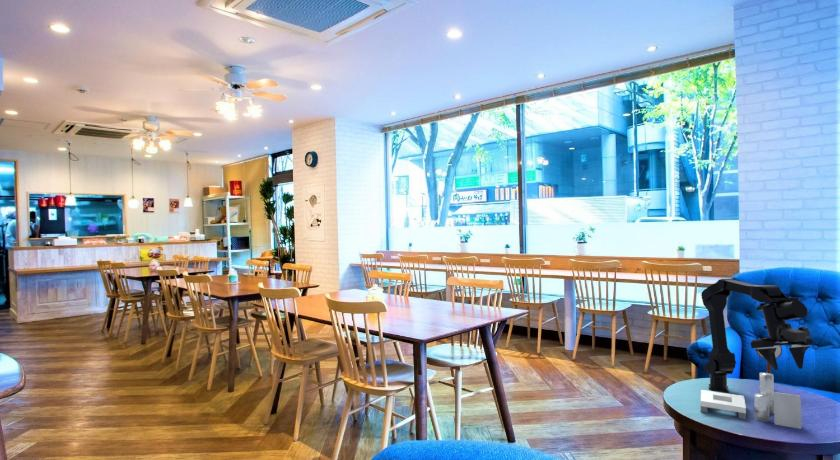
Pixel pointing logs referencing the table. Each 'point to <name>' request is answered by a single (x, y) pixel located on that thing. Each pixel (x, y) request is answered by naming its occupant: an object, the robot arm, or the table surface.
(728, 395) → the hole board
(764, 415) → the short pin
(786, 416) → the ivan chai tea box
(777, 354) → the magnifying glass
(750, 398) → the table surface
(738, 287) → the robot arm
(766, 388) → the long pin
